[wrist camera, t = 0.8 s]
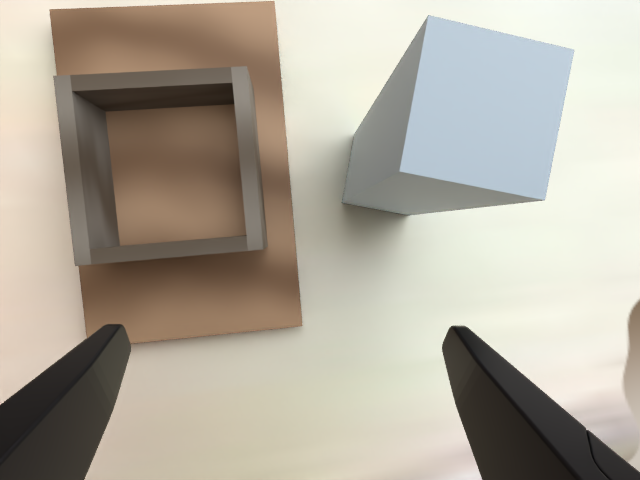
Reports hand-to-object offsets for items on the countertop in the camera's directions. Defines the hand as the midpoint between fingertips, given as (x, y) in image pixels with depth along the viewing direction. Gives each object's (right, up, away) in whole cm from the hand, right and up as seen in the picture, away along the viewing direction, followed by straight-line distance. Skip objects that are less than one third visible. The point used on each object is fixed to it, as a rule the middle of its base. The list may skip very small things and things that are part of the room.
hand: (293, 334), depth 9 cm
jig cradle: (-8, +7, +12) cm, 16 cm away
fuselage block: (+5, +7, +13) cm, 16 cm away
